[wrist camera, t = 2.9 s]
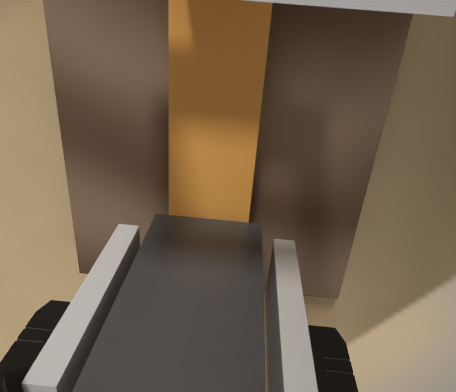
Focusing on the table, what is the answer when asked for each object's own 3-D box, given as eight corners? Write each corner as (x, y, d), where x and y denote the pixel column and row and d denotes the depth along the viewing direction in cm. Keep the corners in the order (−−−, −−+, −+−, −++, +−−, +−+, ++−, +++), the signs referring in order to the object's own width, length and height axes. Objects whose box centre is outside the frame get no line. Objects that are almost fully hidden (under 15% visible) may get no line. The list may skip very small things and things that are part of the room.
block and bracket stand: (124, -57, 11) (-334, -247, 3) (327, -42, 11) (593, -190, 2) (140, 286, 17) (20, 585, 9) (272, 299, 17) (289, 618, 8)
